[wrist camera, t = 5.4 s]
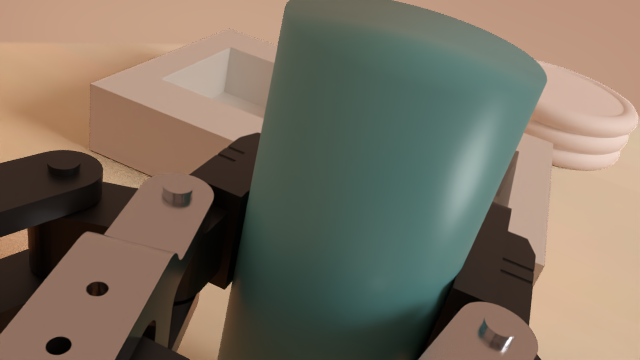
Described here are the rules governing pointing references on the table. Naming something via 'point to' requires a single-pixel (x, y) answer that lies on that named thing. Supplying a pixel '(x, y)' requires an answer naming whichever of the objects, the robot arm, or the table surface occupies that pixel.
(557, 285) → the table surface
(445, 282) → the teal cylinder
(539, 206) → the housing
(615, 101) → the coaster
